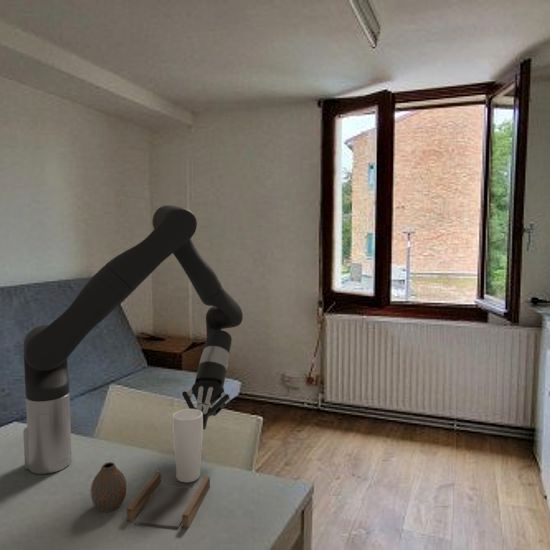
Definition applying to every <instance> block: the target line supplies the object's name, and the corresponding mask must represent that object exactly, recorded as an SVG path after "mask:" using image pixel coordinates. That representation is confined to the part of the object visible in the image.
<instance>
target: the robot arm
mask: <svg viewBox="0 0 550 550" xmlns="http://www.w3.org/2000/svg"><path fill="white" fill-rule="evenodd" d="M151 220H152V221H151V222H152V226H153V230H152V232H150V233H149V235H147V236H146V237H145V238H144V239H143V240H142V241H141V242H139V243H137V244H136V245H134V246H132V247H130V248H128V249H127V250H125V251H123V252H122V253H119V254H118V255H116V256H114V258H112V259H110V260H109V261H108V262H107V263H106V264H105V265H103V266H102V267H101V268H100V269H99V270H97V272H96V273H95V274H94V275H92V277H91V278H90V279H89V280H88V281H87V283H86V284H85V285H84V286H83V287H82V288H81V291H79V293H78V294H77V296H76V297H75V299H74V300H73V302H72V303H71V304H70V305H69V306H68V308H67V309H66V310H65V311H64V312H62V314H60V315H59V316H58V317H57V318H56V319H55V320H53V321H52V322H51V323H50V324H44V325H39V326H36V327H34V328H33V329H31V330H30V331H29V332H28V333H27V334H26V336H25V337H24V341H23V364H24V365H23V367H24V386H25V387H24V389H25V390H24V391H25V406H26V407H25V408H26V409H25V410H26V427H24V429H23V432H22V434H23V435H22V436H23V454H24V455H23V456H24V469H25V470H29V472H31V473H33V474H36V475H37V474H38V475H45V474H52V473H56V472H58V471H62V470H63V469H65V468H67V467H68V466H69V465H70V464H71V463H72V461H73V460H72V431H71V430H72V429H71V428H72V427H71V402H70V401H71V399H70V398H71V397H70V396H71V395H70V379H69V370H68V369H69V368H68V358H69V356H70V355H71V354H72V353H73V352H74V350H76V349H77V347H78V346H79V344H80V343H81V342H82V341H83V340H84V338H85V337H86V336H88V334H89V333H90V332H91V331H92V330H93V329H94V328H95V327H96V326H97V325H99V324H100V323H101V322H102V321H104V319H105V318H107V317H108V316H109V315H110V314H111V313H112V312H113V311H115V309H116V308H117V307H119V306H120V304H122V303H123V302H124V301H125V300H126V299H127V298H128V297H130V296H131V295H132V293H133V292H134V291H135V290H136V289H137V288H138V287H139V286H140V285H141V284H142V283H143V282H144V281H145V280H146V279H147V278H148V277H149V276H150V275H152V273H153V272H154V271H156V269H157V268H158V267H159V266H160V265H161V263H163V262H164V261H165V260H167V259H168V258H169V257H170V256H171V255H172V254H173V256H174V257H175V259H176V260H177V261H178V263H179V265H180V266H181V268H182V269H183V271H184V273H185V274H186V276H187V277H188V279H189V281H190V283H191V285H192V286H193V288H194V290H195V292H196V294H197V295H198V297H199V299H200V301H201V302H202V303H203V304H204V305H206V306H208V307H209V306H210V308H209V309H208V310H207V312H206V314H205V324H206V327H205V328H206V329H205V330H206V339H205V343H204V347H203V351H202V353H201V355H200V360H199V363H198V369H197V372H196V376H195V380H194V384H192V386H191V389H189V390H188V391H185V390H184V391H182V393H181V395H182V397H183V399H184V401H185V403H186V405H187V407H188V409H197V410H200V411H201V412H202V413H203V431H204V430H206V428H207V423H208V419H209V417H212V416H213V417H215V416H217V415H218V414H219V413H220V412H221V411H222V410H223V409H224V408H225V407H226V406H227V405H228V404H229V403H231V400H232V399H231V397H230V395H229V393H225V388H224V385H225V379H226V375H227V372H228V371H227V370H228V367H229V357H230V356H229V355H230V351H231V346H232V336H231V334H230V333H229V332H227V331H225V330H226V329H231V328H236V327H238V326H240V325H242V321H243V318H244V317H243V316H244V313H243V310H242V307H241V306H240V305H239V304H238V302H237V301H236V300H235V299H234V298H233V297H232V296H231V294H229V293H228V292H227V291H226V290H225V289H224V287H223V285H222V283H221V282H220V279H219V278H218V276H217V274H216V273H215V271H214V269H213V268H212V267H211V265H210V264H209V262H208V261H207V260H206V259H205V258H204V257H203V255H202V254H201V253H200V251H199V250H198V248H197V246H196V245H195V244H194V242H193V241H192V238H193V236H194V235H195V233H196V230H197V225H198V222H197V221H198V219H197V218H196V215H195V214H194V213H193V212H192V211H191V210H190V209H188V208H185V207H181V206H176V205H172V204H171V205H170V204H169V205H168V204H166V205H162V206H160V207H158V208H157V209H156V210H155V212H154V214H153V217H152V219H151ZM224 329H225V330H224ZM193 396H194V398H195V400H196V407H195V405H194V404H193V401H192V399H193Z"/></svg>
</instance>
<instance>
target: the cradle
mask: <svg viewBox="0 0 550 550" xmlns="http://www.w3.org/2000/svg"><path fill="white" fill-rule="evenodd" d="M210 488H211V476H208V475H207V476H203V478H202V480H201V481H200V483H199V485H198V487H196V488H195V487H188V486H187V487H186V486H175V485H163V484H162V471H155V472H154V474H153V475H152V476H151V477H150V478H149V480H148V481H147V483H146V484H144V486H143V487H142V489H141V490H140V491H139V493H138V494H137V495H136V496H135V498H134V499H133V500H132V502H131V503H130V504H129V505H128V507H126V521H127V522H132V523H133V522H134V524H136V525H144V526H153V527H161V528H162V527H163V528H171V529H180V527H182V528H185V529H186V528H188V529H189V528H190V526H191V524H192V522H193V520H194V518H195V517H196V514H197V513H198V512H199V509H200V507H201V505H202V504H203V501H204V500H205V498H206V496H207V494H208V491H209V490H210ZM181 525H182V526H181Z"/></svg>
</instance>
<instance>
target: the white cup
mask: <svg viewBox="0 0 550 550" xmlns="http://www.w3.org/2000/svg"><path fill="white" fill-rule="evenodd" d="M203 435H204V430H203V413H202V412H201V411H200V410H197V409H189V408H184V409H180V410H177V411H175V412H174V413H173V414H172V440H173V447H174V458H175V460H174V462H175V477H176V480H178V481H179V483H184V484H185V483H187V484H188V483H193V482H196V481H197V480H198V479H199V478H200V475H201V459H202V449H203V447H202V446H203Z"/></svg>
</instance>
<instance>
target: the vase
mask: <svg viewBox="0 0 550 550" xmlns="http://www.w3.org/2000/svg"><path fill="white" fill-rule="evenodd" d="M127 486H128V484H127V480H126V476H125V475H124V473H123V472H122V471H121V470H120V469H119V468H118V467H117V466H116V463H114V462H110V461H109V462H105V463H103V464H102V465H101V467H100V470H99V471H98V472H97V473H96V475H95V476H94V478H93V480H92V483H91V487H90V498H91V501H92V503H93V505H94V508H96V509H97V510H99V511H101V512H103V513H104V512H105V513H107V512H113V511H115V510H117V509H118V508H119V507H121V505H122V504H123V502H124V501H125V499H126V496H127V489H128V487H127Z"/></svg>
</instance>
